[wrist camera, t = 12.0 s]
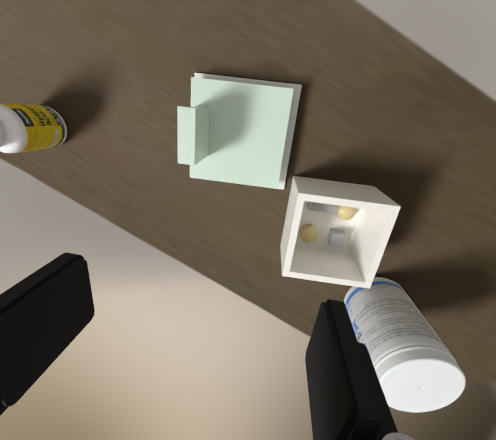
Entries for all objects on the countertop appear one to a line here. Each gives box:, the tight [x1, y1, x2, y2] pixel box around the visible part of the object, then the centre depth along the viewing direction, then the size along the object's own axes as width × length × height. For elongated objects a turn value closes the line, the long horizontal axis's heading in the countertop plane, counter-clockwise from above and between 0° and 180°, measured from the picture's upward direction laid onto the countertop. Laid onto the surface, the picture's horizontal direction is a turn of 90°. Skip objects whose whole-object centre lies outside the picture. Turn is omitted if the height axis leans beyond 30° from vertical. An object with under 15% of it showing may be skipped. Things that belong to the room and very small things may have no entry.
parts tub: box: [281, 176, 401, 289], centre depth 33 cm, size 11×11×8 cm
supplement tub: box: [344, 277, 465, 412], centre depth 35 cm, size 10×10×15 cm
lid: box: [178, 77, 294, 189], centre depth 29 cm, size 12×12×8 cm
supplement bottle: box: [0, 104, 67, 153], centre depth 31 cm, size 5×5×10 cm
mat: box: [195, 73, 302, 189], centre depth 33 cm, size 13×13×1 cm
